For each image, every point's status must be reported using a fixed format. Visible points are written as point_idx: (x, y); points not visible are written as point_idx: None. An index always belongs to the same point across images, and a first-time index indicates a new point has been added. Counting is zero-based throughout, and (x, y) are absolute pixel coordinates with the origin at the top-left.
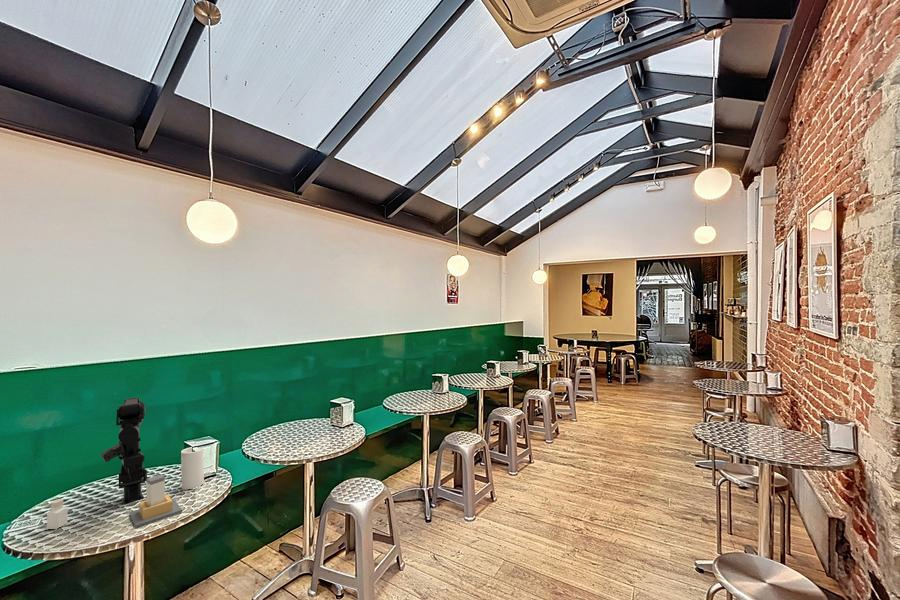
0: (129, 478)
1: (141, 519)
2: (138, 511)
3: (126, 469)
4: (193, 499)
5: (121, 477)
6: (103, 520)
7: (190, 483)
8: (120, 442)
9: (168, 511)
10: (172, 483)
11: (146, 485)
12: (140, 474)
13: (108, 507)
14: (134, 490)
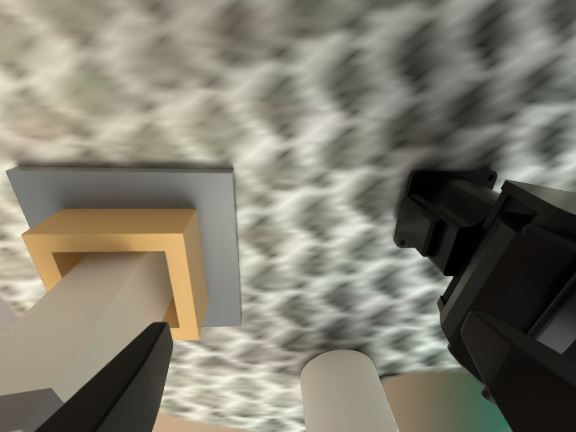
0: (482, 274)
1: (76, 202)
2: (203, 207)
3: (526, 361)
4: (192, 360)
5: (541, 238)
6: (274, 52)
7: (308, 391)
8: None
9: None
10: (443, 335)
11: (69, 359)
12: (454, 344)
13: (450, 103)
14: (424, 239)
